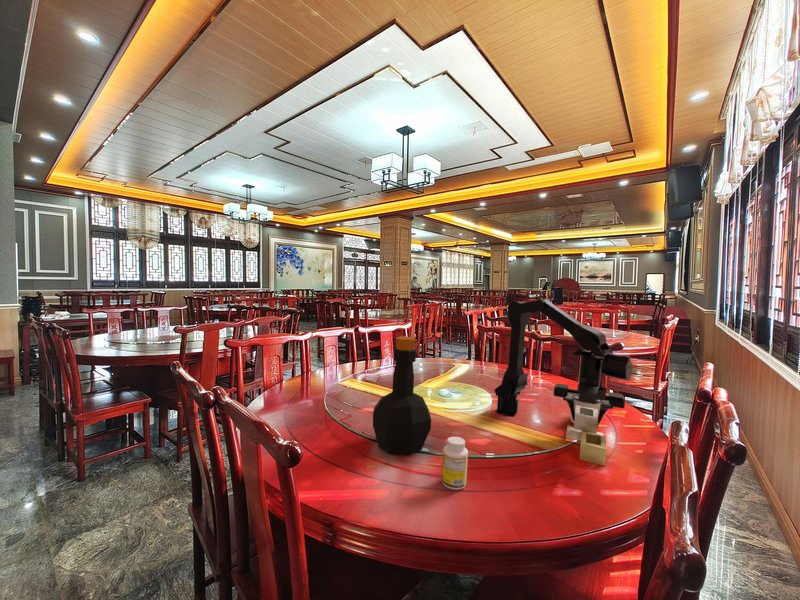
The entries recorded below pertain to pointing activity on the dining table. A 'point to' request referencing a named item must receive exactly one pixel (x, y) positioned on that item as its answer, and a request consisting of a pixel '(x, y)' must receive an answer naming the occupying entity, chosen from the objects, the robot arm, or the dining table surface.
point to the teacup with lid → (585, 405)
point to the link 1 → (586, 419)
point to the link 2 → (593, 448)
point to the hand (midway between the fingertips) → (585, 422)
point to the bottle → (402, 407)
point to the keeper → (576, 434)
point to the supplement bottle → (455, 463)
